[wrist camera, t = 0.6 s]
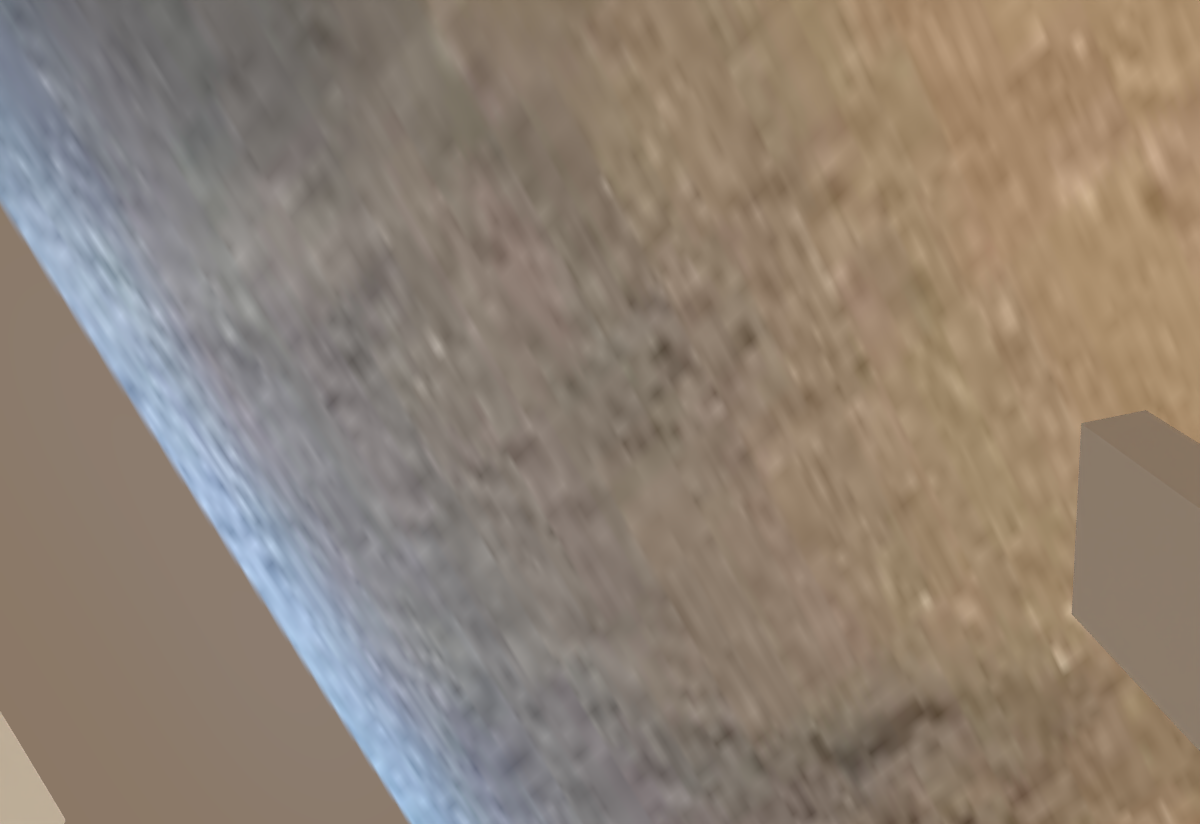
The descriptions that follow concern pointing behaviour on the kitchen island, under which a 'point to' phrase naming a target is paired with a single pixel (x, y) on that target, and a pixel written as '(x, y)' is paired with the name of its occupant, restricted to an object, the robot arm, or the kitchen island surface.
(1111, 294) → the kitchen island surface
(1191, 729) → the robot arm
